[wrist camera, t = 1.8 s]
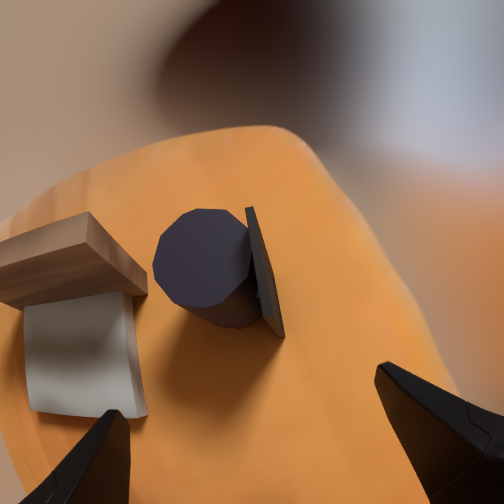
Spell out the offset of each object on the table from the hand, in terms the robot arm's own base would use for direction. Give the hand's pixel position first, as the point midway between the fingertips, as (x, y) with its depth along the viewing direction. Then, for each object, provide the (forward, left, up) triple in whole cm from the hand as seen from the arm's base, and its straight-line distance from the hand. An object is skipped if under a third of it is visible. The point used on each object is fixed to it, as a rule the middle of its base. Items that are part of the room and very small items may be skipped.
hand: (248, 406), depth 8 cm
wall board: (+4, +15, -12) cm, 19 cm away
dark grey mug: (+7, 0, -12) cm, 14 cm away
